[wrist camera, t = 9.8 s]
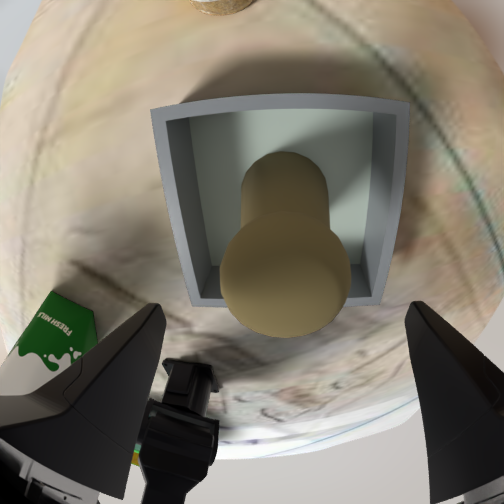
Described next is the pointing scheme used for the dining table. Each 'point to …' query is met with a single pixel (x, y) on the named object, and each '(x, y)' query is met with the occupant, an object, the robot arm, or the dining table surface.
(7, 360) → the milk carton
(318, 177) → the cork
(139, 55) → the dining table surface
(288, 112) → the box
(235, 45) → the dining table surface
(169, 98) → the dining table surface
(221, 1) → the sprinkles bottle
